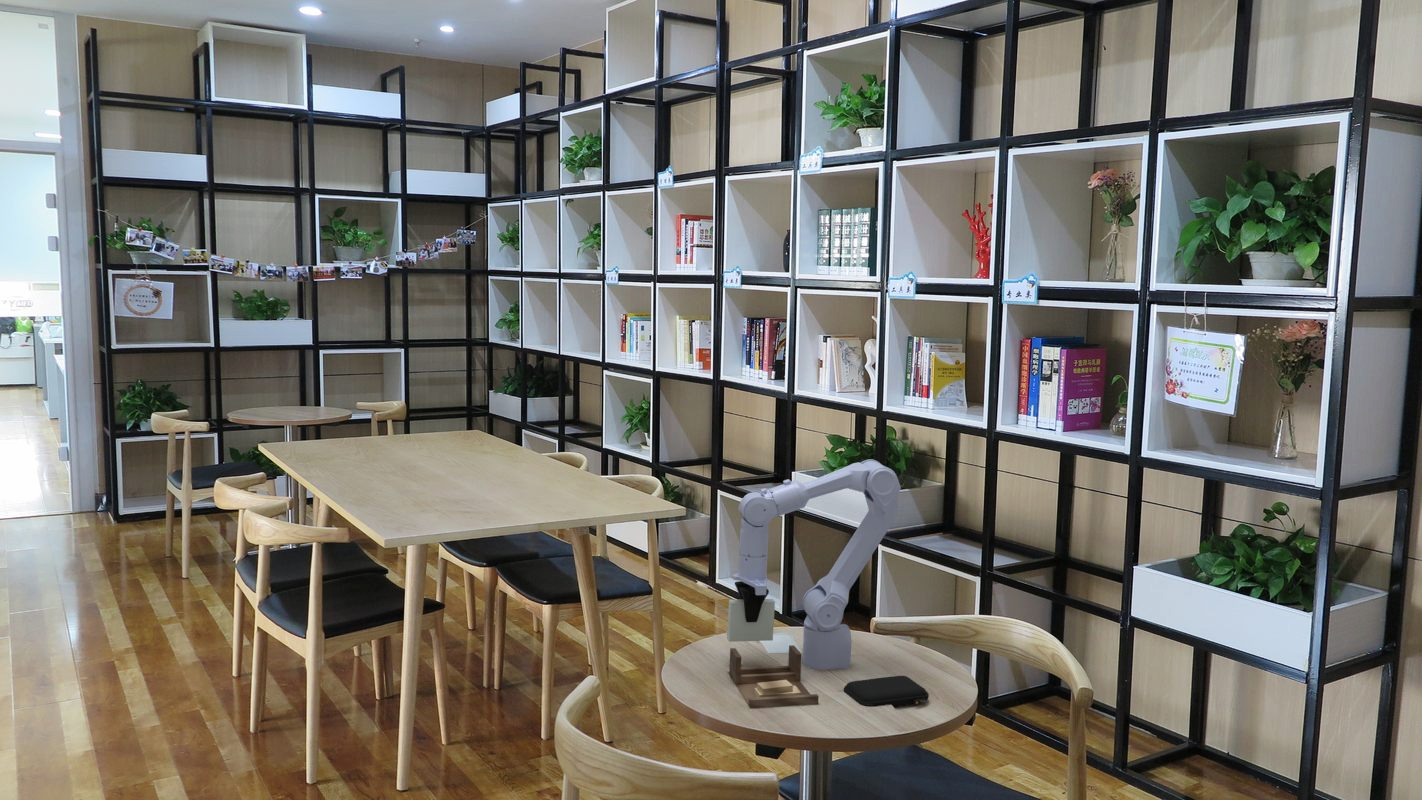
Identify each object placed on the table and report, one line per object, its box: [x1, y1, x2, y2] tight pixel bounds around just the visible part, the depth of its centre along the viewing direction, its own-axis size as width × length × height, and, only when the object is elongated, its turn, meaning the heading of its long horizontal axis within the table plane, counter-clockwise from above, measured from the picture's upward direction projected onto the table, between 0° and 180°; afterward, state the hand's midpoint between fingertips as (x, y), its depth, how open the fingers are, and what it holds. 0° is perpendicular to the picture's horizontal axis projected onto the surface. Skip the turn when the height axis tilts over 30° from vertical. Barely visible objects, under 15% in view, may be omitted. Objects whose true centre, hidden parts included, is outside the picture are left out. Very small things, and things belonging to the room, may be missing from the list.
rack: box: [726, 645, 820, 709], centre depth 204 cm, size 13×18×6 cm
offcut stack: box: [754, 680, 801, 698], centre depth 200 cm, size 8×4×2 cm, turn 103°
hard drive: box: [755, 632, 803, 654], centre depth 229 cm, size 2×8×12 cm
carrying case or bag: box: [843, 675, 930, 708], centre depth 203 cm, size 11×3×15 cm
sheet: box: [726, 598, 776, 643], centre depth 215 cm, size 9×2×8 cm, turn 103°
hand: (749, 619), depth 215 cm, fingers closed on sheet, 2 cm apart
